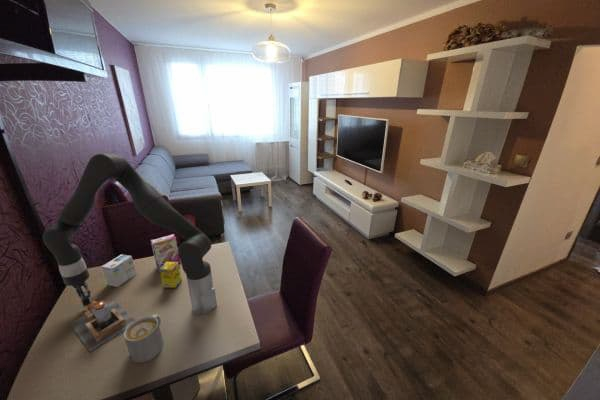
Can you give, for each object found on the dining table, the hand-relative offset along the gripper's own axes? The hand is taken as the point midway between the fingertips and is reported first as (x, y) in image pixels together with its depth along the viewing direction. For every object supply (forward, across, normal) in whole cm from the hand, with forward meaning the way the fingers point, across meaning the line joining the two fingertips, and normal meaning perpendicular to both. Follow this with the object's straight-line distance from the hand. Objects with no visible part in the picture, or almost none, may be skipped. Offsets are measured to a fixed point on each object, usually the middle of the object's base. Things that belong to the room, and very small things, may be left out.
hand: (86, 304), depth 103 cm
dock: (+2, -15, 0) cm, 15 cm away
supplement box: (+2, -15, -28) cm, 32 cm away
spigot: (+1, -18, 0) cm, 18 cm away
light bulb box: (+2, +9, -16) cm, 19 cm away
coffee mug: (+2, -39, -6) cm, 40 cm away
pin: (+1, -10, 0) cm, 11 cm away
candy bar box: (+2, +1, -36) cm, 36 cm away
